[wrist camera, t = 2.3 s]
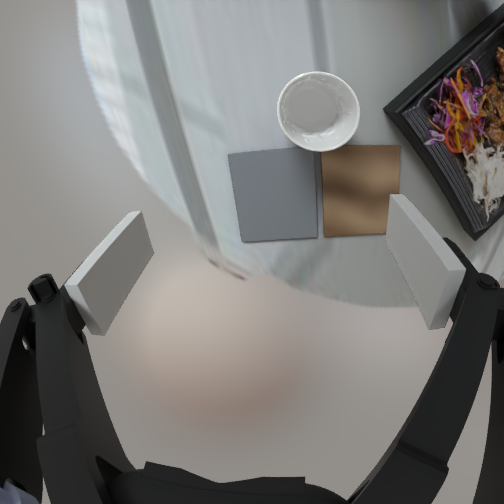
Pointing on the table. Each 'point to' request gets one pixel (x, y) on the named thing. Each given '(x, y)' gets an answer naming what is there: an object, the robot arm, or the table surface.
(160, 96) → the table surface
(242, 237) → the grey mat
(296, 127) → the white cup
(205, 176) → the table surface
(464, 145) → the food platter
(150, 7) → the table surface
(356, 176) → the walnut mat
